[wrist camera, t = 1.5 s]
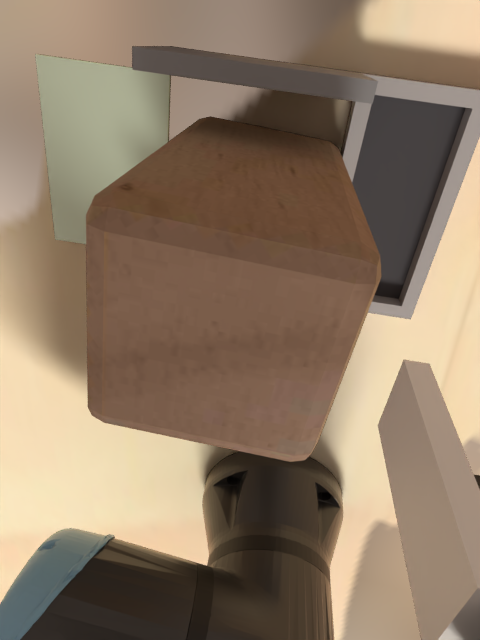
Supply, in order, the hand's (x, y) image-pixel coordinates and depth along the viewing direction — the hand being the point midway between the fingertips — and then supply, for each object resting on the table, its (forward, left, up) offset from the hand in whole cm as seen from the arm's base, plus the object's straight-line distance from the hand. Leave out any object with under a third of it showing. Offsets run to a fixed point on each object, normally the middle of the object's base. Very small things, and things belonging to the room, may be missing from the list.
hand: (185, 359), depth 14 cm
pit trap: (0, -10, -22) cm, 24 cm away
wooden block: (-1, -1, -22) cm, 22 cm away
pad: (0, +11, -22) cm, 24 cm away
